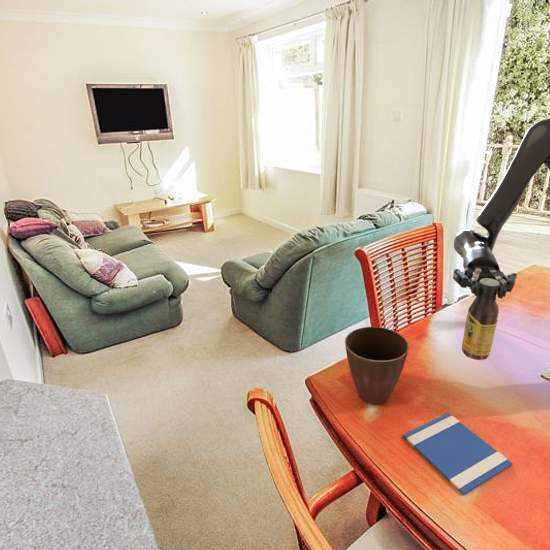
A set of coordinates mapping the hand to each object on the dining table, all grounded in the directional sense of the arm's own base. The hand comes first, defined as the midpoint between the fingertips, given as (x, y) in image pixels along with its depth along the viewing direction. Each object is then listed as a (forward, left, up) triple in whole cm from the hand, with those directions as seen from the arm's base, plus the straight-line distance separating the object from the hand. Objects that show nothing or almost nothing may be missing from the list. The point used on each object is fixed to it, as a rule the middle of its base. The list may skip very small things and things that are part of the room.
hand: (489, 293), depth 82 cm
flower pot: (+20, -13, -30) cm, 38 cm away
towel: (+16, +9, -30) cm, 35 cm away
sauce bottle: (-2, -2, -18) cm, 18 cm away
